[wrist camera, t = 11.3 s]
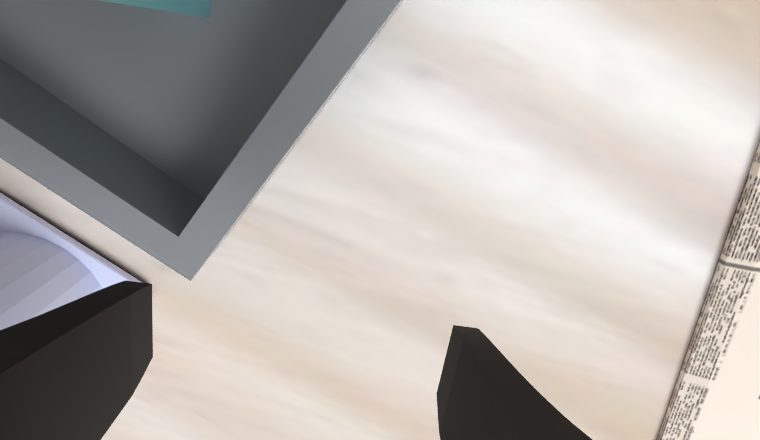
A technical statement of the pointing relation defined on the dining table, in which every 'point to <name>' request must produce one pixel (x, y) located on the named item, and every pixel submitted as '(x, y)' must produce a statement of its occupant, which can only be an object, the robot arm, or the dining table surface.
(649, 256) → the dining table surface
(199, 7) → the strut
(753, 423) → the newspaper
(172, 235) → the bin
